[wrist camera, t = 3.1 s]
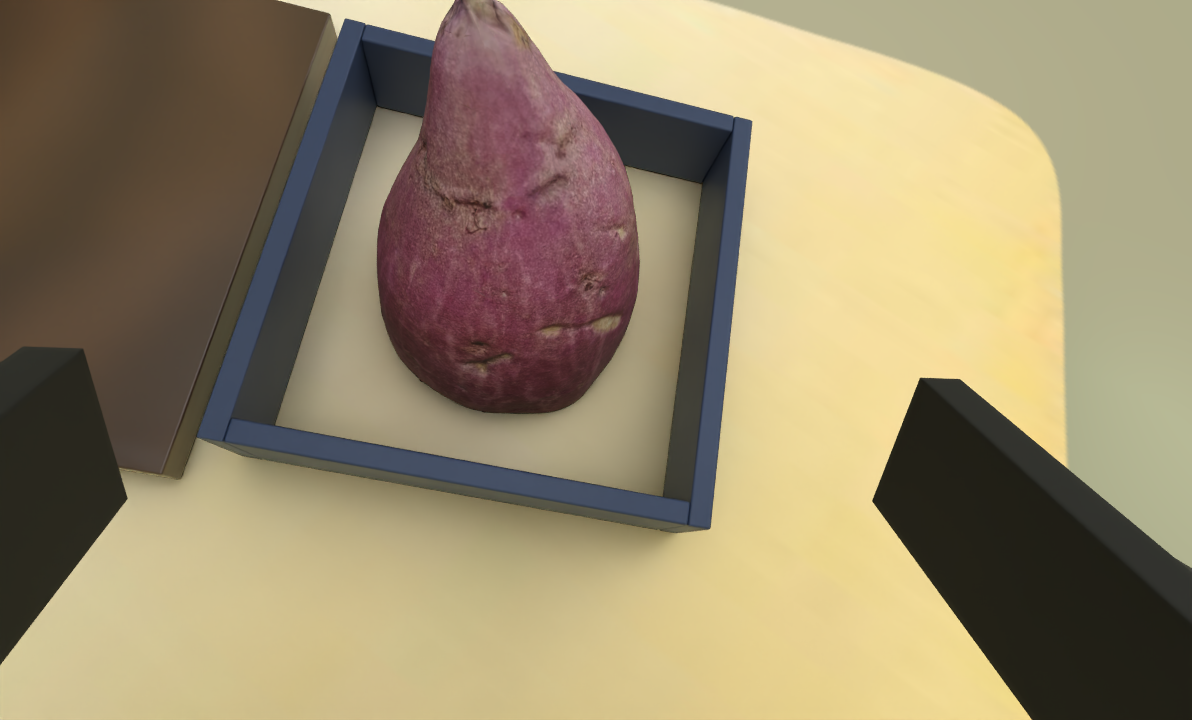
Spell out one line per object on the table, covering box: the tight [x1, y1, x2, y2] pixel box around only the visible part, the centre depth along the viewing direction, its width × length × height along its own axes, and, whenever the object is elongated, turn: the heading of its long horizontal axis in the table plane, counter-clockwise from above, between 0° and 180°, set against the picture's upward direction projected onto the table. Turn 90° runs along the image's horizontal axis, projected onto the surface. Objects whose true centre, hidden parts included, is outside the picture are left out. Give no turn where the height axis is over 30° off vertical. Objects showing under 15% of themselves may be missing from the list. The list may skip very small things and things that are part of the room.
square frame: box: [197, 19, 752, 533], centre depth 25 cm, size 17×17×4 cm
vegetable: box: [377, 0, 640, 413], centre depth 22 cm, size 10×10×15 cm
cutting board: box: [0, 0, 337, 479], centre depth 25 cm, size 14×20×2 cm
